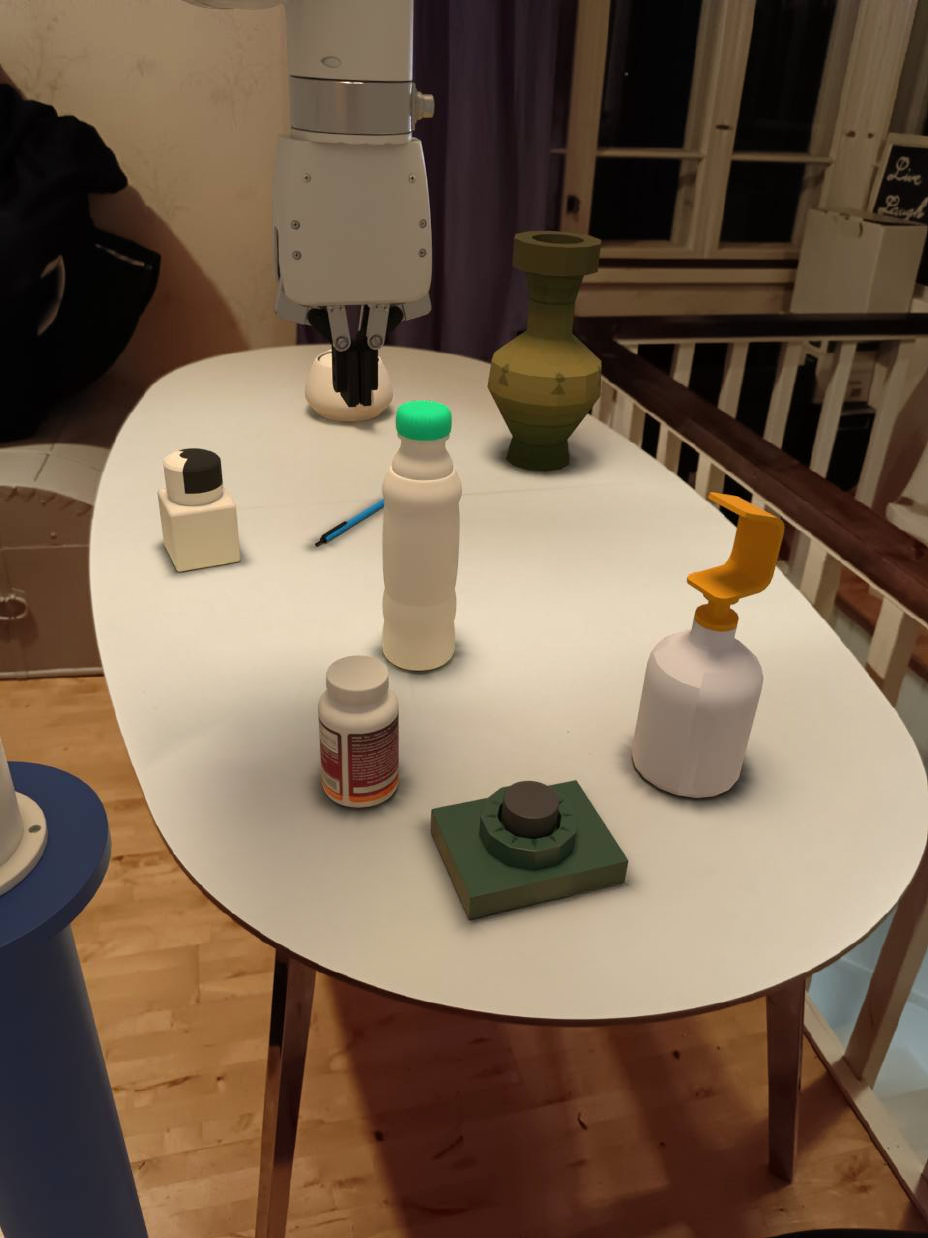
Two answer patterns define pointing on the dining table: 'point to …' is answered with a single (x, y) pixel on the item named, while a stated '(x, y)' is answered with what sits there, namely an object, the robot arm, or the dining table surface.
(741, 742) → the soap bottle
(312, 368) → the teapot
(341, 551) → the dining table surface
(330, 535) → the pen
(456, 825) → the green button base
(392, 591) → the water bottle
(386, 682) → the pill bottle
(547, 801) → the brown push button
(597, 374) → the vase
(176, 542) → the medicine bottle
